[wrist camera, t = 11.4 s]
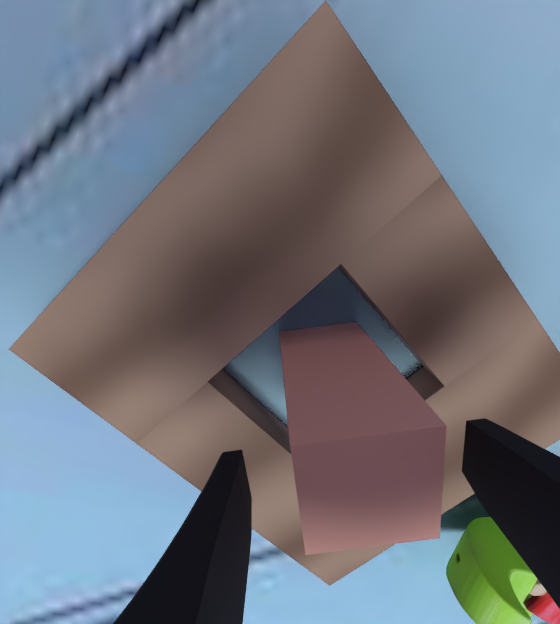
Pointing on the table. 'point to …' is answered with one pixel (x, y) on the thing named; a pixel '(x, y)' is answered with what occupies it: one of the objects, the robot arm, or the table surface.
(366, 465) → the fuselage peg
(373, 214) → the jig board
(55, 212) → the table surface
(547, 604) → the toy crocodile
